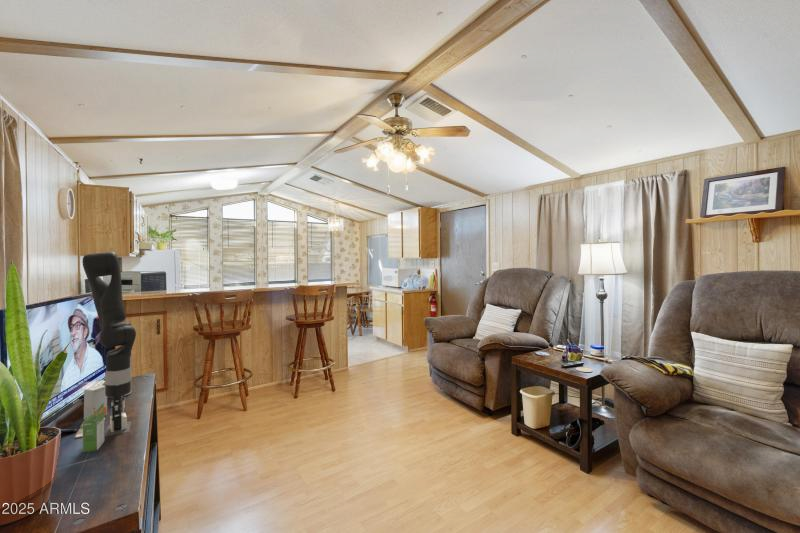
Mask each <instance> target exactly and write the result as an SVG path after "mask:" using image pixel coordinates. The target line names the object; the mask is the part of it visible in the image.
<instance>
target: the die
mask: <svg viewBox="0 0 800 533" xmlns="http://www.w3.org/2000/svg"><path fill="white" fill-rule="evenodd" d="M118 416H119V415H115V417H118ZM127 422H128V416H127V413H126V412H123V413H122V428H121V430H123V429H127ZM109 425H110V430H111V432H115V431H114V421H112V415H110V416H109ZM118 431H119V430H118Z"/></svg>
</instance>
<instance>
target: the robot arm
mask: <svg viewBox="0 0 800 533" xmlns="http://www.w3.org/2000/svg"><path fill="white" fill-rule="evenodd" d="M81 262H82V266H83V267H82V268H83V271H84V273H85V276H86V278H87V281H88V284H89V287H90V291H91V294H92V299H93V304H94V308H95V310H96V314H97V317H98V320H99V325H100V326H99V327H100V334H99V343H100V345H101V346H102V347H104V348H115V347H117V348H115V349H112V350H109V351H107V352H106V355H105V376H104V377H105V378H104V386H105V395H106V396H107V399H108V398H110V399H111V398H112V399H111V401H110V406H111V416H112V421H114V431H118V430H121V428H122V413H125V411H124V410H125V407H126V396H128V395H130V394H131V393H132V349H133V347H134V344H135V341H136V337H137V331H136V329H135V327H134V326H132V323H130V322H128V321H125V320H126V318H127V314H126V309H125V304H124V300H123V289H122V288H123V287H122V284H123V283H122V274H121V273H122V269H121V263H120V259H119V257H118V255H117V253H116V252H115V251H105V252H97V253H96V252H95V253H89V254H88V253H87V254H85V255H83V257H82V261H81ZM106 276H107V277H108V276H111V279H110V282H109V283H107V282H106V281H104V280H103V279H101V278H100V277H106ZM124 321H125V322H124ZM115 415H119V416H118V417H115Z"/></svg>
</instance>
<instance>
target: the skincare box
mask: <svg viewBox="0 0 800 533" xmlns="http://www.w3.org/2000/svg"><path fill="white" fill-rule="evenodd" d="M103 403H104V417H105V416H107V415H108V397H107V396H106V395H105V384H104V385H103V384H97V385H95V386H92V387H90V388H87V389H84V390H83V421H85V420H86V419H87V418H88V417H89V416H90V415H93V414H97V409H98V408H99V407H100V406H101V405H102V404H103ZM101 411H102V408H101V409H100V411H99V413H100V412H101Z"/></svg>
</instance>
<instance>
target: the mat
mask: <svg viewBox="0 0 800 533" xmlns="http://www.w3.org/2000/svg"><path fill="white" fill-rule="evenodd" d="M131 424H132V421H131V420H130V421H127V429H123V430H119V431H115V432H111V430H110V424H108V425H107V428H106V431H105V432H104V437H107V436H113V435H119V434H123V433H125V434H126V433H129V432H130V429H131Z"/></svg>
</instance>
